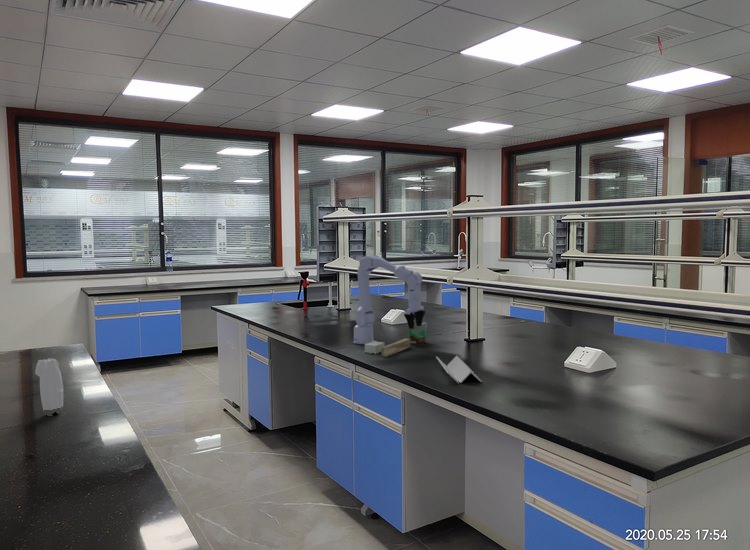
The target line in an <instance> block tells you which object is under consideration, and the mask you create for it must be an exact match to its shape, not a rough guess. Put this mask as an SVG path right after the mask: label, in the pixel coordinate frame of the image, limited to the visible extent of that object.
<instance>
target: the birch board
mask: <svg viewBox="0 0 750 550" xmlns="http://www.w3.org/2000/svg"><path fill="white" fill-rule="evenodd" d="M410 347H411V344H410V338H403V339H401V340H398V341H395V342H393V343H390V344H387V345H385V346H384V347H382V348H381V351H382V352H381V357H383V358H384V357H385V358H387V357H390V356H392V355H394V354H397V353H399V352H401V351H404V350H406V349H410ZM389 355H390V356H389Z"/></svg>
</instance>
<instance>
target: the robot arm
mask: <svg viewBox="0 0 750 550" xmlns="http://www.w3.org/2000/svg"><path fill="white" fill-rule="evenodd" d="M377 268H382V269H384V270H386V271H388V272H391V273H393V274H394V276H395V277H396V278H397V279H400V280H402V282H403V281H404V282H405V283H406V284H407V291H408V308H407V309H405V313H403V314H404V315H403V316H404V318H405V320H406V323H407V327H409V329H414V324H416V325H417V326H421V324H422V321H423V320H424V317H425V314H426V310H424V309H425V308H424V305H421V304H422V303H421V302H422V301H421V300H422V299H421V298H422V297H421V295H422V294H421V284H422V282H423V276H422V275H421V274H420V273H419V272H414V270H410V269H407V268H406V266H405V265H399V266H397V265H395V264H393V263H392V262H390V261H388V260H386V259H385V258H383V257H381V256H379V255H377V254H376V255H366V256H365V255H364V256H363V257H361V259H359V265H358V269H357V284H358V285H357V286H358V287H357V288H358V301H359V307H358V308H357V310H356V316H355V322H356V325H355V326H354V327H353V342H352V343H353V344H358V345H365V344H368V343H371V342H374V341H375V342H378V341H377V340H374V323H375V321H376V314H375V312H374V308H373V306H371V293H370V291H371V290H370V277H369V275H370V274H371V273H372V272H373V270H376V269H377ZM409 329H408V330H409Z"/></svg>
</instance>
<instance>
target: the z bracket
mask: <svg viewBox="0 0 750 550" xmlns="http://www.w3.org/2000/svg"><path fill="white" fill-rule="evenodd" d="M435 358H436V359H437V360H438V362H439V363H440V365H441V367H443V369H444V371H445V372H446V374H448V375H449V376H450V378H452V379H453V380H454V381H455V382H456V383H457V384H459V382H460V383H461V384H462V383H463V382H464V381H465V380H466V379H467V377H468V376H470V374H471V375H473V377H475V378H476V379H477V381H479V382H480V383H481V382H483V381H482V380H481V378H479V376H478V375H477V374H476V373H475V372H474V371H473V370H472V369H471V368H470V367H469V365H467V364H466V363H465V362H464V361H463V360H462V359H461V358H460V357H459V356H458V355H456V356H455V357H454V358H452V360H451V361H450V362H449V363H448V364H447V365H446V364H445V362H443V361H442V360H441V359H440V358H439V357H438V356H435ZM474 373H475V374H474ZM458 381H459V382H458Z"/></svg>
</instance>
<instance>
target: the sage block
mask: <svg viewBox="0 0 750 550" xmlns="http://www.w3.org/2000/svg"><path fill="white" fill-rule="evenodd" d="M373 341H374V342H371V343H368V344H364V353H365V352H367V353H366V354H372V353H374V354H373V355H377V354H379V352H380V353H382V352H381V348H382V347H384V346H386V345H385V343H386V342H384V341H377V342H375V341H376V340H373ZM376 353H377V354H376Z"/></svg>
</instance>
